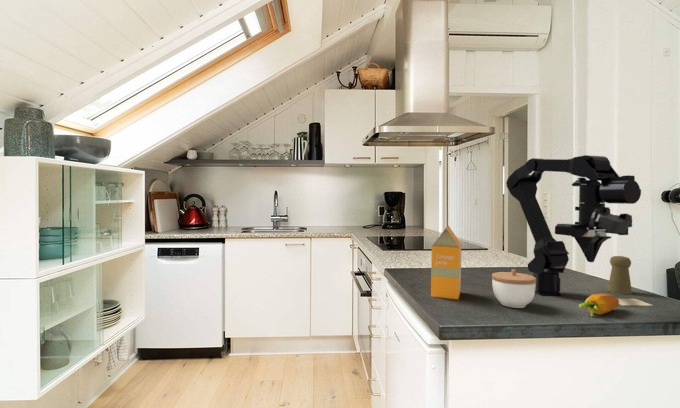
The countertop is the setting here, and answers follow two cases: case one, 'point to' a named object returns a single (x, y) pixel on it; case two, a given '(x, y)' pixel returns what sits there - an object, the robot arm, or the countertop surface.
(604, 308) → the carrot
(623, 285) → the cork
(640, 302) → the beige rectangular sheet
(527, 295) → the lidded jar
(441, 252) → the orange juice
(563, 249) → the robot arm
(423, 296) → the countertop surface
